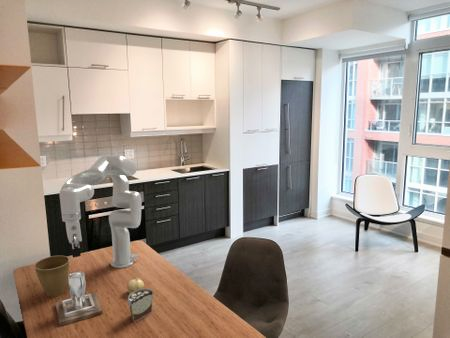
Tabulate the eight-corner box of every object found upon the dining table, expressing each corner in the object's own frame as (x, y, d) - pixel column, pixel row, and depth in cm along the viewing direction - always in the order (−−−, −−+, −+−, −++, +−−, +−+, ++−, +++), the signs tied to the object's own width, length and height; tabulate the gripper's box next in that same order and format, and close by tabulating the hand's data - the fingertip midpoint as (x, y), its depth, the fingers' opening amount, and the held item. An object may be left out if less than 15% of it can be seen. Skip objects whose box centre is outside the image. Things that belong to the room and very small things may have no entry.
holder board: (95, 295, 163) (95, 289, 162) (102, 313, 148) (102, 307, 148) (56, 305, 155) (55, 299, 154) (59, 326, 140) (58, 319, 140)
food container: (145, 305, 154) (144, 285, 153) (154, 310, 151) (153, 289, 149) (122, 318, 145) (120, 296, 143) (131, 324, 141) (129, 301, 139)
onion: (141, 296, 162) (140, 283, 161) (124, 296, 162) (124, 282, 161) (146, 288, 170) (145, 274, 168) (130, 287, 170) (129, 274, 169)
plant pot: (41, 287, 170) (38, 257, 167) (73, 283, 175) (71, 253, 172) (34, 303, 156) (31, 271, 153) (70, 298, 161) (67, 266, 158)
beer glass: (81, 311, 147) (78, 279, 145) (66, 310, 149) (63, 278, 146) (90, 303, 154) (88, 272, 151) (76, 301, 155) (74, 270, 153)
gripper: (83, 220, 144) (87, 257, 147) (77, 209, 159) (81, 244, 162) (64, 223, 140) (68, 262, 143) (59, 212, 155) (63, 247, 158)
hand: (75, 252), depth 153 cm, fingers open, 9 cm apart
